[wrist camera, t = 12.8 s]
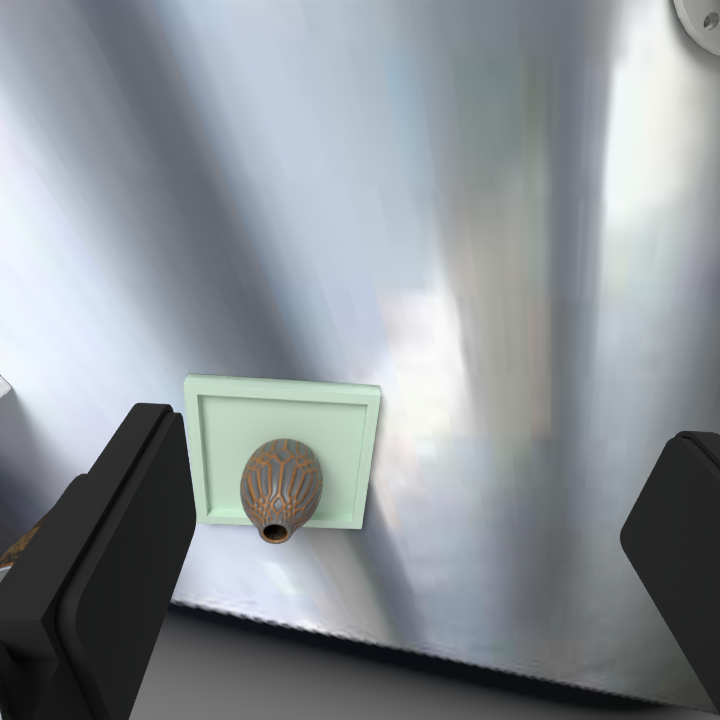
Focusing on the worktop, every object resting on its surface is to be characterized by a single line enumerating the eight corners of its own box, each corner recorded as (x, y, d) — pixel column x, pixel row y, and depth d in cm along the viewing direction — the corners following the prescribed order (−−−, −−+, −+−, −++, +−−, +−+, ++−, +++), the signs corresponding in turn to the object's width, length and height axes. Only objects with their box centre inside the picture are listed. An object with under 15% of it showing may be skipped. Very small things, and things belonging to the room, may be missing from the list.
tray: (379, 385, 40) (380, 395, 39) (360, 517, 48) (361, 529, 47) (188, 373, 39) (183, 383, 38) (200, 511, 47) (197, 523, 45)
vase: (293, 494, 45) (284, 575, 38) (232, 459, 43) (210, 538, 35) (339, 452, 43) (340, 529, 35) (278, 412, 41) (265, 485, 33)
